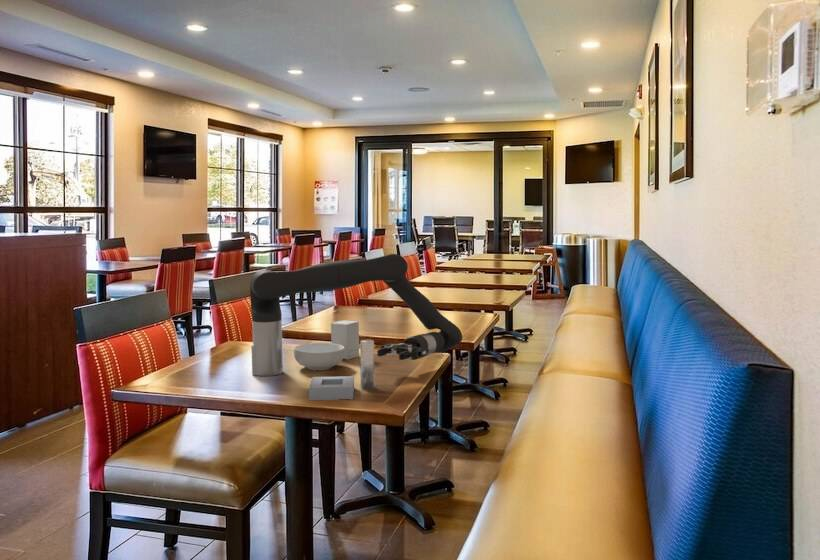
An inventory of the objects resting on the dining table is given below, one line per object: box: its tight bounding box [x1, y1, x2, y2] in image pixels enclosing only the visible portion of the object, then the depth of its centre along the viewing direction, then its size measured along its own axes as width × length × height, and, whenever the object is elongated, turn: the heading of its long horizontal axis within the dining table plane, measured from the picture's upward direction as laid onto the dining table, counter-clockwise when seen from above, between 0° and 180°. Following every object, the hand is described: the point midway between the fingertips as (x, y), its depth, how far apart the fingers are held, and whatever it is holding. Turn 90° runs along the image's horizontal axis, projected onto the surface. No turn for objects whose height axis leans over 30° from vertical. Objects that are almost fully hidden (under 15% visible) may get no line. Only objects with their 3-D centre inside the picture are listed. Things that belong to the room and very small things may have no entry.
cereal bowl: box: [293, 342, 345, 371], centre depth 216 cm, size 17×17×7 cm
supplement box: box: [330, 319, 360, 360], centre depth 232 cm, size 7×7×13 cm
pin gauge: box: [359, 339, 375, 390], centre depth 191 cm, size 4×4×14 cm
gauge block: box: [308, 375, 355, 401], centre depth 185 cm, size 12×12×4 cm
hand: (389, 354), depth 199 cm, fingers open, 8 cm apart
